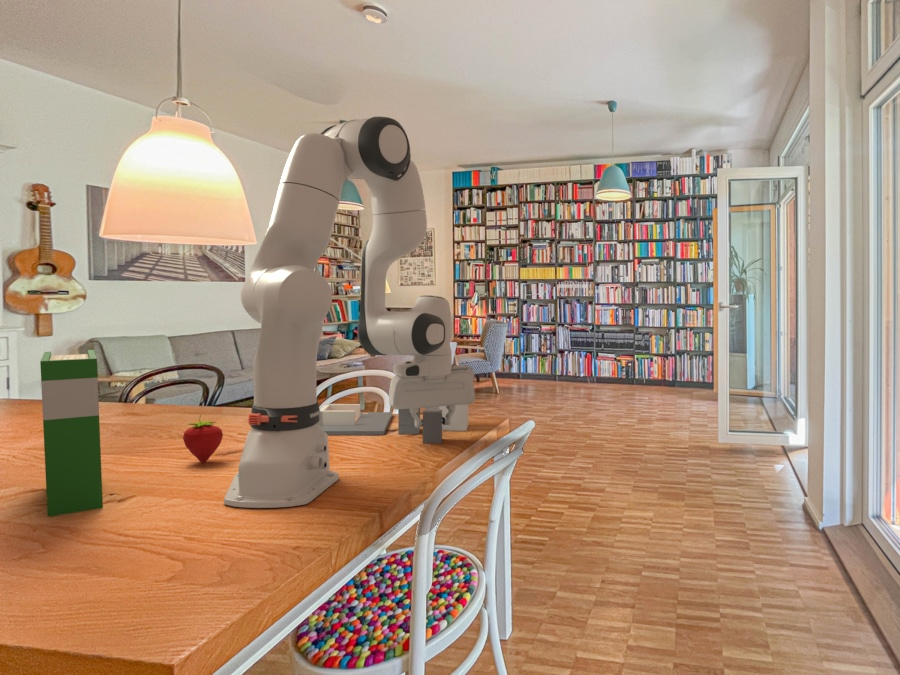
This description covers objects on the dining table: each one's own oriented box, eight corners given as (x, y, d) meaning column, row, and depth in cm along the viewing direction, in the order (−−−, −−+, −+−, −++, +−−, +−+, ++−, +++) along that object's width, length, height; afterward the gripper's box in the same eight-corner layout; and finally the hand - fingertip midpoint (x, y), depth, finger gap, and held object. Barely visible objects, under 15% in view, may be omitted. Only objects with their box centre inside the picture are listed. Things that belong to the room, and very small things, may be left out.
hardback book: (50, 486, 110) (44, 351, 108) (98, 479, 114) (93, 349, 112) (47, 516, 95) (40, 361, 93) (102, 508, 99) (96, 358, 97)
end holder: (383, 435, 149) (383, 416, 149) (284, 435, 149) (284, 416, 149) (392, 415, 173) (392, 399, 173) (306, 415, 173) (306, 399, 173)
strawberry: (223, 464, 124) (222, 415, 123) (182, 467, 121) (180, 417, 121) (223, 457, 129) (222, 409, 129) (184, 460, 127) (183, 412, 126)
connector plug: (442, 443, 141) (442, 404, 141) (422, 443, 141) (422, 404, 141) (442, 438, 146) (442, 401, 145) (423, 438, 146) (423, 401, 145)
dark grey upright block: (418, 434, 150) (418, 397, 150) (398, 434, 150) (398, 397, 150) (420, 428, 156) (419, 393, 156) (400, 428, 156) (400, 393, 156)
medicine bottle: (468, 425, 161) (468, 379, 160) (466, 431, 154) (466, 383, 153) (441, 424, 161) (441, 379, 160) (438, 430, 154) (437, 383, 153)
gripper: (468, 363, 149) (468, 419, 150) (386, 366, 141) (386, 426, 142) (479, 365, 143) (479, 424, 144) (394, 369, 136) (394, 431, 137)
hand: (432, 425), depth 143 cm, fingers closed on connector plug, 5 cm apart
